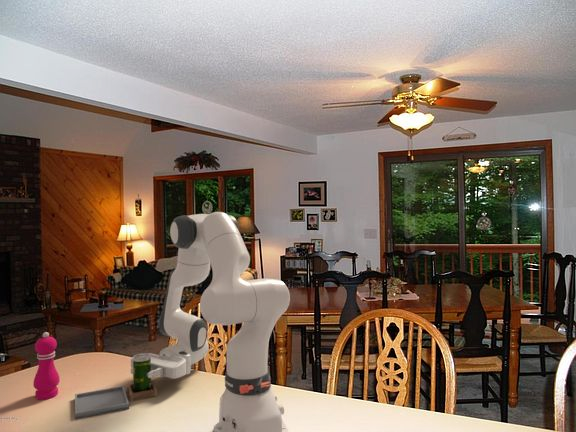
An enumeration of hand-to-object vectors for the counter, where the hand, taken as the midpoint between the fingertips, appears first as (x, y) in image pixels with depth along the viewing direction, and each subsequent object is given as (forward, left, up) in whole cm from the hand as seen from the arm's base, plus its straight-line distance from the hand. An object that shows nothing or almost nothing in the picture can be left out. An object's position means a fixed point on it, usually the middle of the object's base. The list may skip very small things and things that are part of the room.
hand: (139, 373), depth 139 cm
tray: (-1, +11, -7) cm, 13 cm away
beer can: (+1, -1, -7) cm, 7 cm away
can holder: (+1, -1, -7) cm, 7 cm away
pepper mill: (+13, +26, -7) cm, 30 cm away
